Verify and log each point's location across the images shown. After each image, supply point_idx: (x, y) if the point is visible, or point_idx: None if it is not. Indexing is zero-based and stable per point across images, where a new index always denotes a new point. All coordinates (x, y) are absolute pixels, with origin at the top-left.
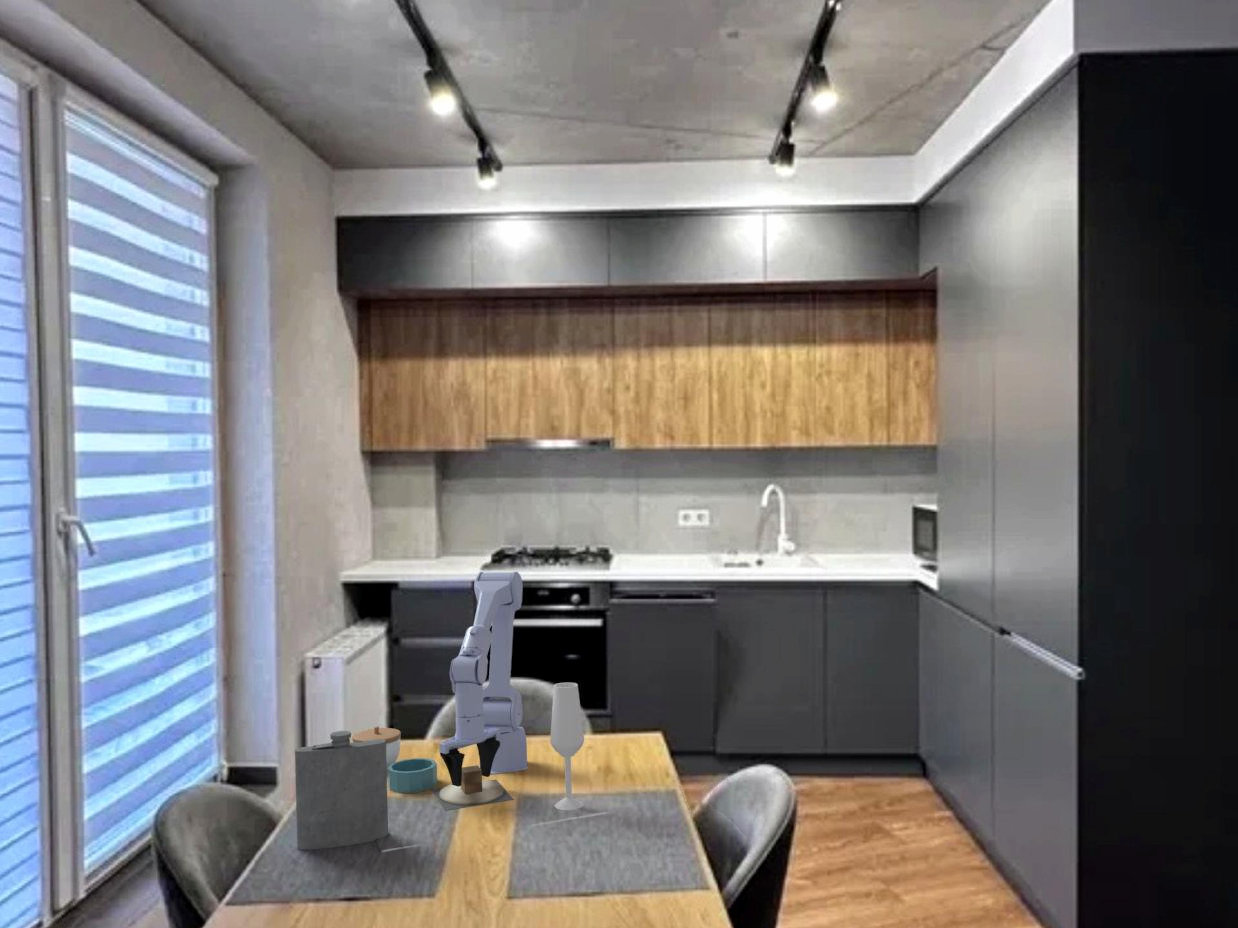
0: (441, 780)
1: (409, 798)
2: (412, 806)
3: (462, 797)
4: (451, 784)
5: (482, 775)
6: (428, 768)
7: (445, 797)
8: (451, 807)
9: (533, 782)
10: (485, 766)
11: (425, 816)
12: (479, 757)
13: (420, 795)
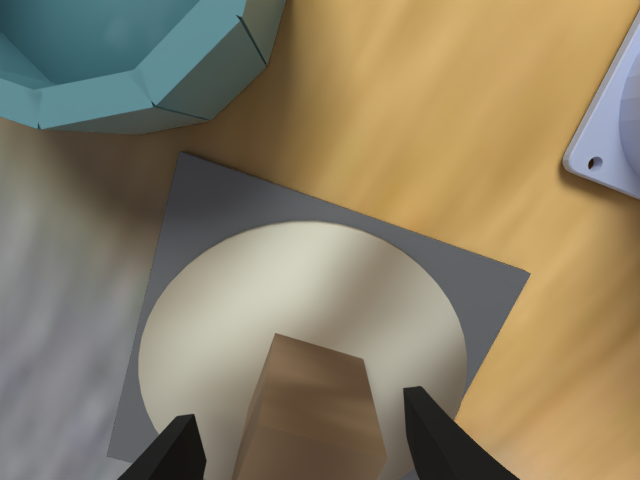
0: (330, 5)
1: (32, 171)
2: (8, 292)
3: (217, 431)
4: (276, 229)
5: (404, 396)
6: (112, 102)
7: (150, 380)
8: (146, 445)
9: (610, 401)
10: (426, 476)
11: (22, 435)
12: (451, 466)
13: (103, 171)
